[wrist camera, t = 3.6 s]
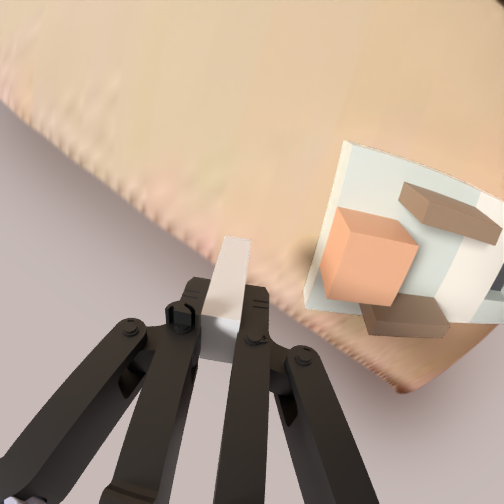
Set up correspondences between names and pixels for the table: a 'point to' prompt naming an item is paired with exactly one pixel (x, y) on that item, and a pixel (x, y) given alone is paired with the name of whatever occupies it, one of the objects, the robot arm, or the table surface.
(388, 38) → the table surface
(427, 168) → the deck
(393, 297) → the block
